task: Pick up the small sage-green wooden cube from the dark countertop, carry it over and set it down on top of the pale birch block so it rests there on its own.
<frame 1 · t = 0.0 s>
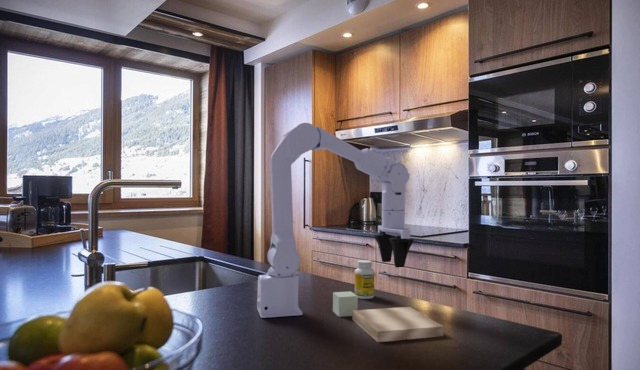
hand: (392, 264, 104), 10 cm above the countertop, tool pointing down, fingers open, 7 cm apart
supplement bottle: (364, 297, 111), on the countertop
sage cube: (344, 313, 96), on the countertop
birch block: (395, 329, 87), on the countertop
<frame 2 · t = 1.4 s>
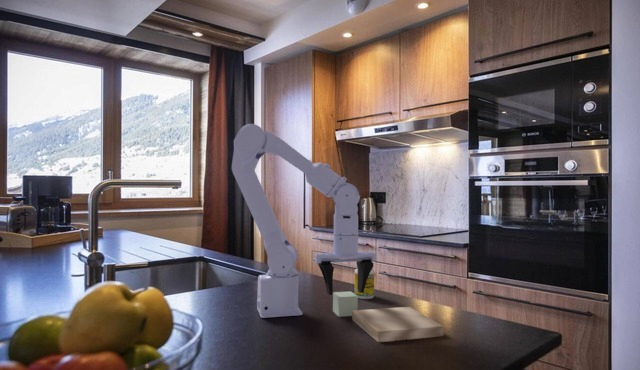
hand: (345, 292, 96), 5 cm above the countertop, tool pointing down, fingers open, 7 cm apart
nothing on the countertop moved.
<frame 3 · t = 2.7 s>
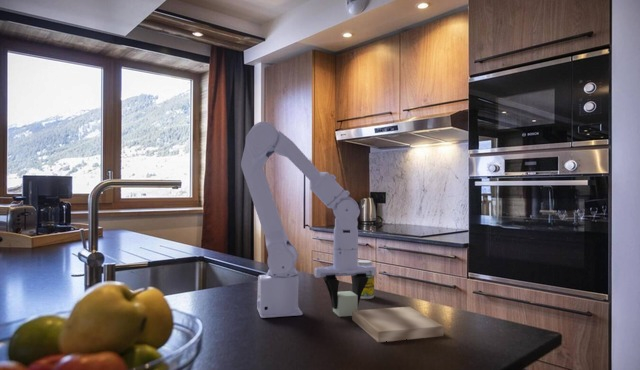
hand: (344, 306, 96), 1 cm above the countertop, tool pointing down, fingers closed on sage cube, 4 cm apart
sage cube: (344, 313, 96), on the countertop, touching gripper
everything else where it was.
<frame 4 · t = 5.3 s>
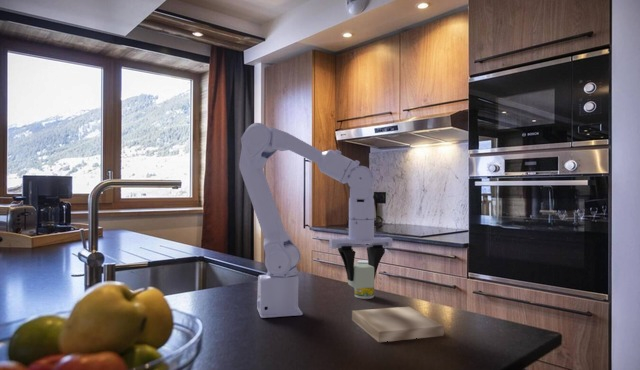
hand: (361, 279, 93), 8 cm above the countertop, tool pointing down, fingers closed on sage cube, 4 cm apart
sage cube: (360, 285, 93), point 7 cm above the countertop, touching gripper
everything else where it was.
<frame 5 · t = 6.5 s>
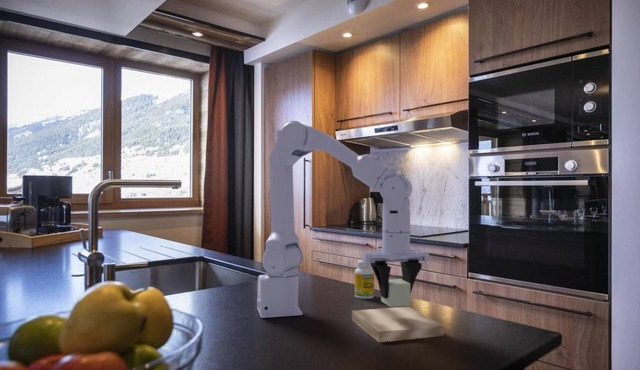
hand: (395, 296, 87), 6 cm above the countertop, tool pointing down, fingers closed on sage cube, 4 cm apart
sage cube: (395, 303, 87), point 5 cm above the countertop, touching gripper
everything else where it was.
when the fingers open (5 cm above the countertop, at t = 7.7 s): sage cube drops 2 cm, resting on birch block.
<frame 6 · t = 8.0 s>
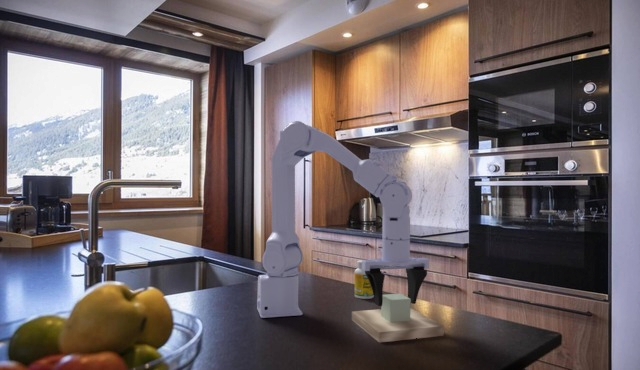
hand: (395, 303, 87), 5 cm above the countertop, tool pointing down, fingers open, 7 cm apart
sage cube: (395, 318, 86), point 2 cm above the countertop, touching birch block
birch block: (395, 330, 87), on the countertop, touching sage cube
everything else where it was.
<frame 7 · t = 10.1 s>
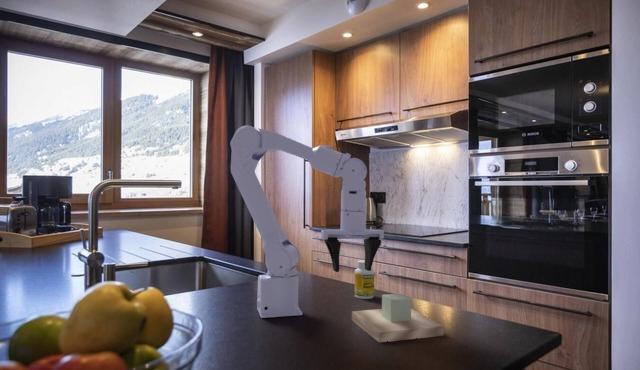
hand: (352, 270, 94), 10 cm above the countertop, tool pointing down, fingers open, 7 cm apart
nothing on the countertop moved.
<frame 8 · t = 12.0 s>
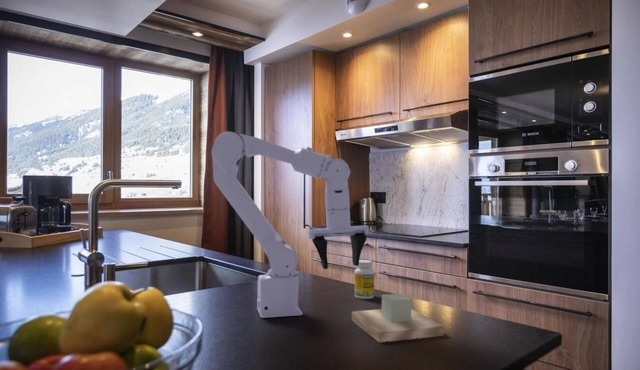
hand: (340, 266, 98), 10 cm above the countertop, tool pointing down, fingers open, 7 cm apart
nothing on the countertop moved.
at the end: sage cube inside the target area on the birch block (0.1 cm from its centre), point 2.5 cm above the birch block's base; sage cube tilted 0°; sage cube touching birch block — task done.
